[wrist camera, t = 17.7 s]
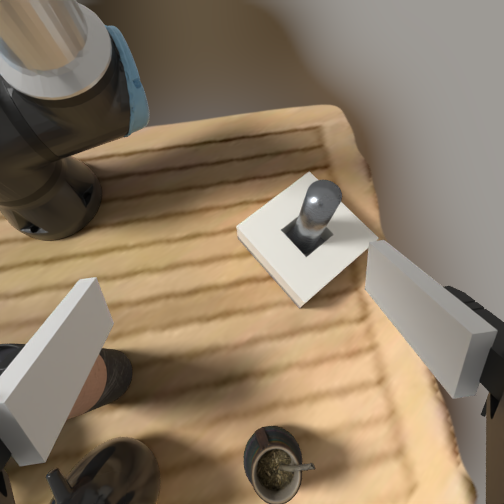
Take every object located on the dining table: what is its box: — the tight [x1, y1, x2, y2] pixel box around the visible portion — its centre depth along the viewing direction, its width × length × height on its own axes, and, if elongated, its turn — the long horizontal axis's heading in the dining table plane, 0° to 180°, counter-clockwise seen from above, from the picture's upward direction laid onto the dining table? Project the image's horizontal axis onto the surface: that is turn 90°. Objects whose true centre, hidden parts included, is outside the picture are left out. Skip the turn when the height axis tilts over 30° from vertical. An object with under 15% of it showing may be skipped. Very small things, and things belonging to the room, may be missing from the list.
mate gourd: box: [244, 426, 315, 504], centre depth 35 cm, size 7×8×10 cm
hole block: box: [236, 172, 379, 308], centre depth 47 cm, size 15×15×5 cm
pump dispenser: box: [46, 437, 160, 504], centre depth 31 cm, size 10×10×15 cm
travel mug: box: [0, 344, 132, 419], centre depth 33 cm, size 8×8×20 cm
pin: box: [291, 180, 342, 254], centre depth 41 cm, size 4×4×15 cm
